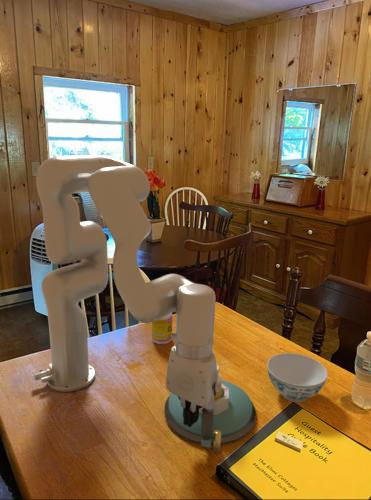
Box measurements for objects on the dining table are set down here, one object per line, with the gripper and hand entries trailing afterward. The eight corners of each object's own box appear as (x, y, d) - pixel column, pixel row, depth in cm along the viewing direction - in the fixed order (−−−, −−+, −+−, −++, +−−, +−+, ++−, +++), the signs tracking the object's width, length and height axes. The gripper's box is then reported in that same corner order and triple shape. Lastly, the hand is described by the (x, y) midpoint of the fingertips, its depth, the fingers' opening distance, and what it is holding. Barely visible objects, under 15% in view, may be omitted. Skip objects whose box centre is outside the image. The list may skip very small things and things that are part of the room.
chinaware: (273, 372, 113) (276, 347, 111) (328, 387, 106) (332, 362, 104) (257, 400, 100) (259, 374, 98) (318, 421, 94) (321, 392, 92)
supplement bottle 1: (169, 346, 126) (169, 309, 123) (149, 343, 127) (149, 306, 124) (174, 336, 132) (174, 300, 129) (155, 334, 134) (155, 298, 130)
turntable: (254, 458, 81) (257, 420, 78) (158, 447, 83) (158, 411, 80) (250, 386, 104) (252, 356, 102) (175, 380, 106) (175, 350, 104)
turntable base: (200, 462, 81) (201, 443, 80) (148, 402, 99) (148, 386, 98) (277, 423, 92) (278, 406, 91) (217, 375, 111) (218, 361, 109)
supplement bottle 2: (196, 396, 97) (197, 361, 94) (217, 395, 98) (219, 359, 95) (200, 411, 92) (201, 374, 89) (223, 409, 93) (225, 372, 90)
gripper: (152, 341, 80) (151, 417, 85) (217, 366, 72) (212, 448, 77) (174, 327, 86) (172, 399, 91) (235, 349, 78) (229, 426, 83)
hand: (190, 422), depth 84 cm, fingers closed
